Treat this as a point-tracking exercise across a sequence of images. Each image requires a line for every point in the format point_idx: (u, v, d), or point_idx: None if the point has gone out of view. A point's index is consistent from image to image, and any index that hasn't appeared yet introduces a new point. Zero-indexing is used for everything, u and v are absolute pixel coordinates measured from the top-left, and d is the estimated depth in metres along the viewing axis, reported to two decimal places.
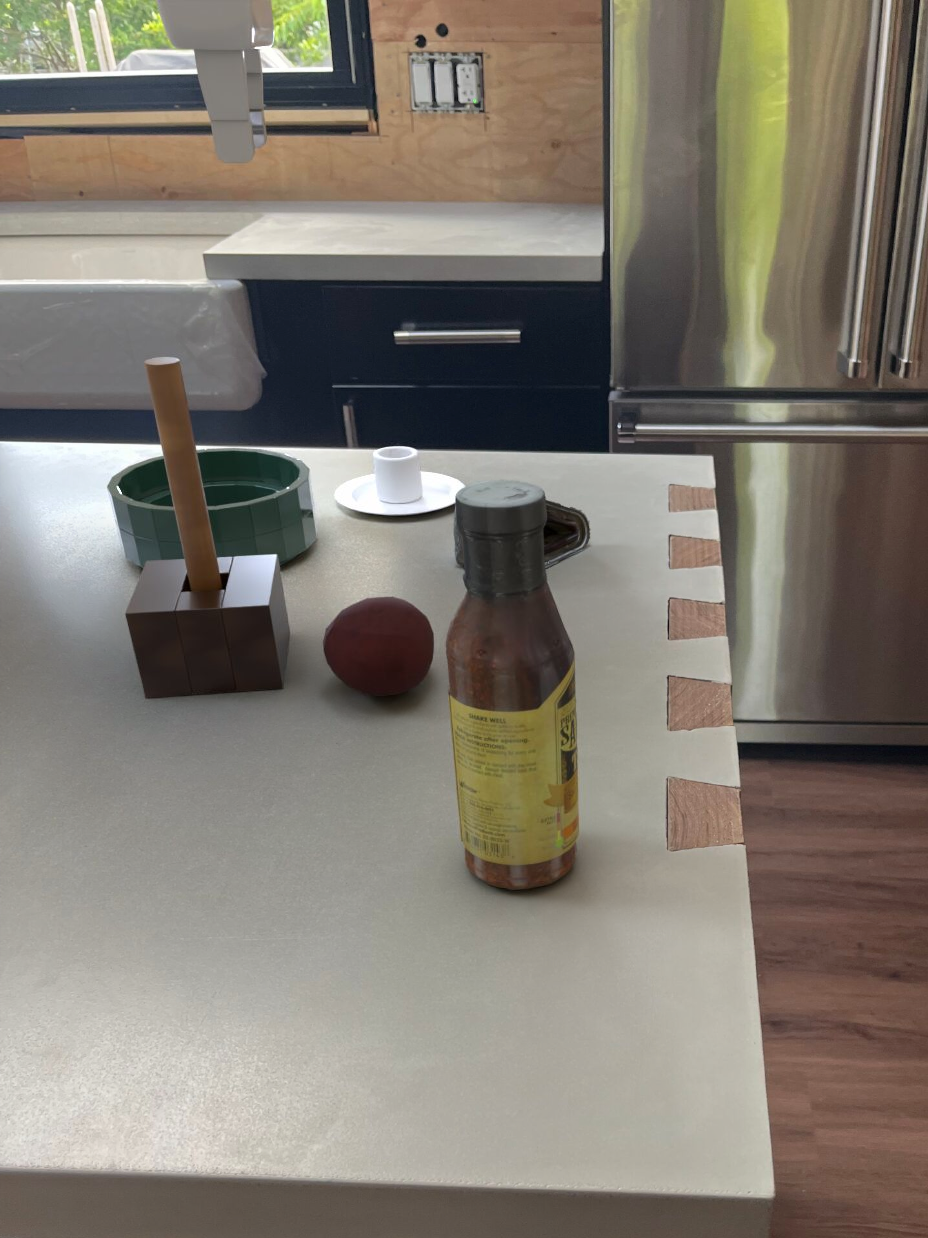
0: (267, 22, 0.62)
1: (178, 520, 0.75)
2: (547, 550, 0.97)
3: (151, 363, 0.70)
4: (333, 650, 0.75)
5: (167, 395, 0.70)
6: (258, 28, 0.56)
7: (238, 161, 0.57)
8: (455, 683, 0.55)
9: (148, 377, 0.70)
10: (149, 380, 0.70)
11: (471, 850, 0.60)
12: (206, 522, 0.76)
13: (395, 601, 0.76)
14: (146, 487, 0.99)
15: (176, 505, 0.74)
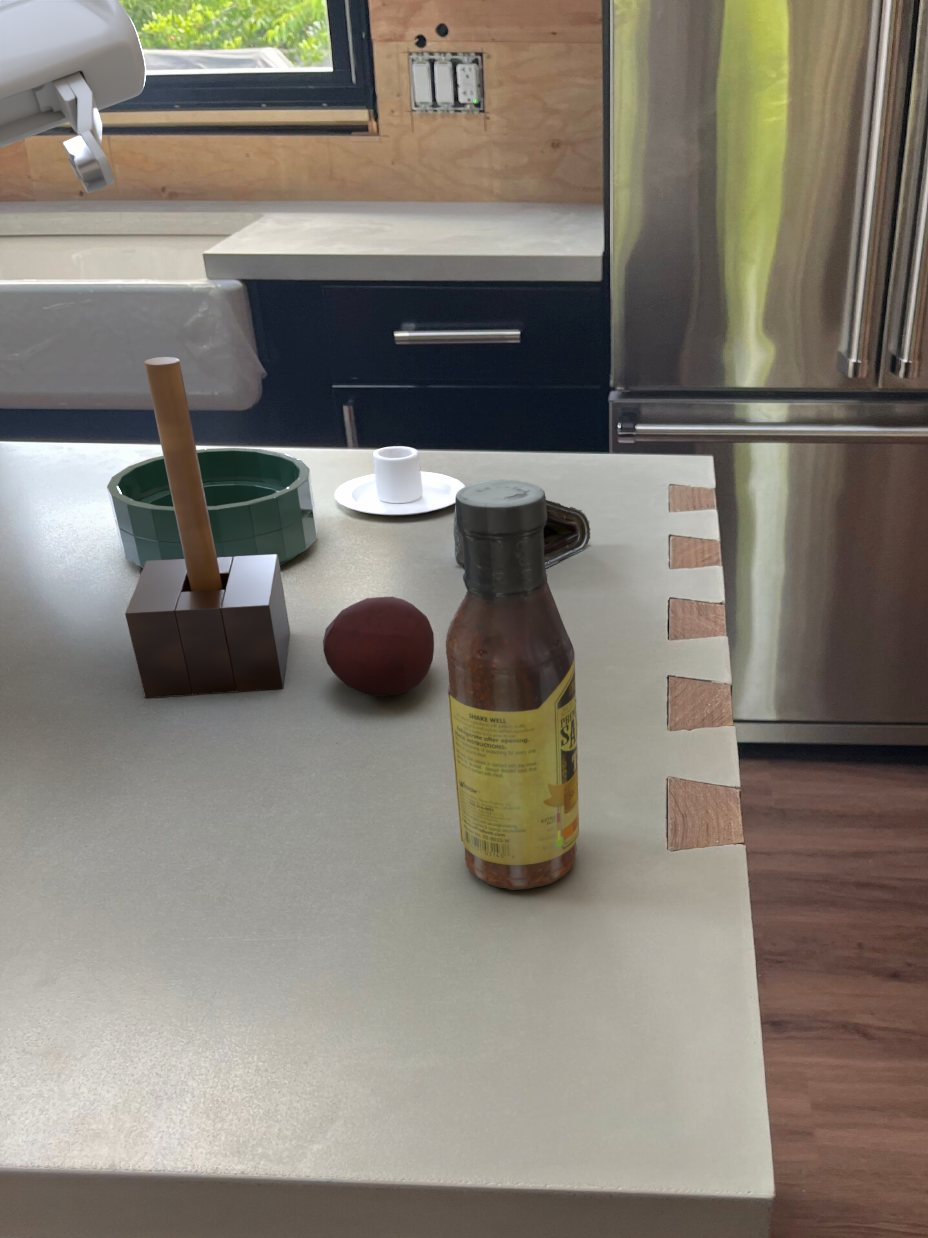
0: None
1: (178, 520, 0.75)
2: (547, 550, 0.97)
3: (151, 363, 0.70)
4: (333, 650, 0.75)
5: (167, 395, 0.70)
6: None
7: (112, 174, 0.58)
8: (455, 683, 0.55)
9: (148, 377, 0.70)
10: (149, 380, 0.70)
11: (471, 850, 0.60)
12: (206, 522, 0.76)
13: (395, 601, 0.76)
14: (146, 487, 0.99)
15: (176, 505, 0.74)
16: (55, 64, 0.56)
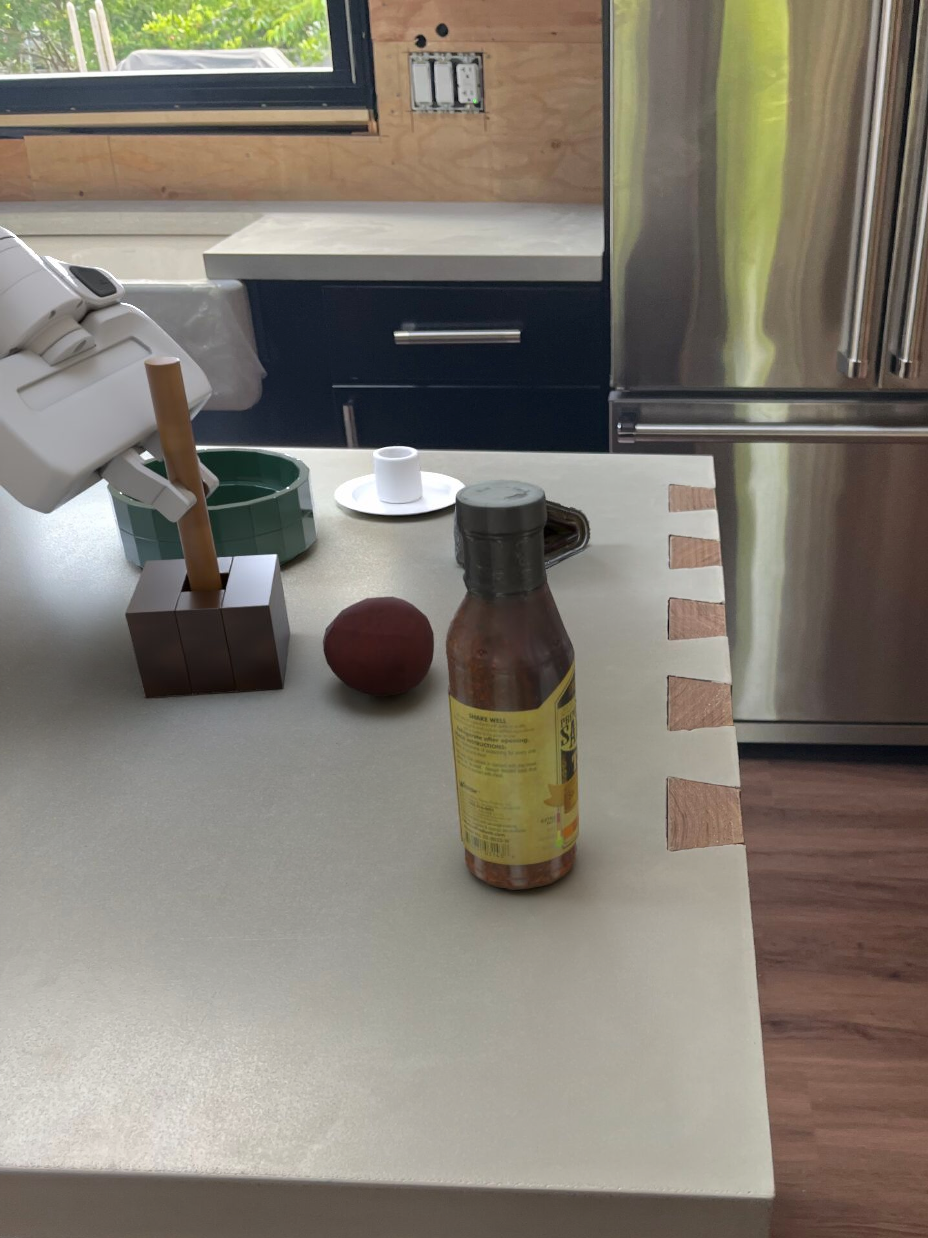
0: None
1: None
2: (547, 550, 0.97)
3: (151, 363, 0.70)
4: (333, 650, 0.75)
5: (167, 395, 0.70)
6: None
7: (212, 491, 0.77)
8: (455, 683, 0.55)
9: (148, 377, 0.70)
10: (149, 380, 0.70)
11: (471, 850, 0.60)
12: (206, 522, 0.75)
13: (395, 601, 0.76)
14: None
15: None
16: (188, 402, 0.77)
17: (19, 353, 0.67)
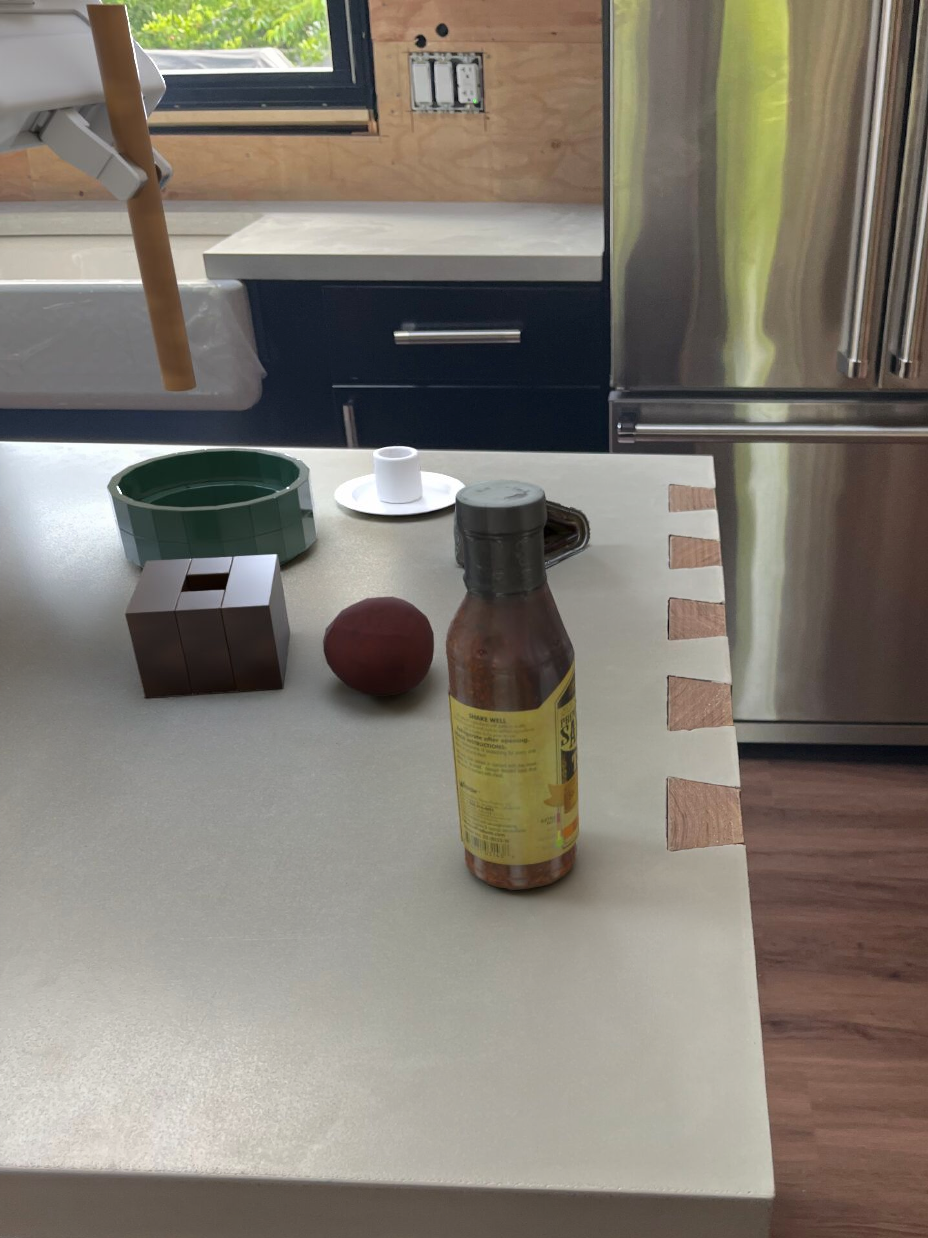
0: None
1: (128, 204, 0.68)
2: (547, 550, 0.97)
3: (93, 4, 0.63)
4: (333, 650, 0.75)
5: (112, 44, 0.64)
6: None
7: (166, 183, 0.71)
8: (455, 683, 0.55)
9: (91, 22, 0.64)
10: (92, 25, 0.64)
11: (471, 850, 0.60)
12: (159, 208, 0.69)
13: (395, 601, 0.76)
14: (146, 487, 0.99)
15: None
16: None
17: None
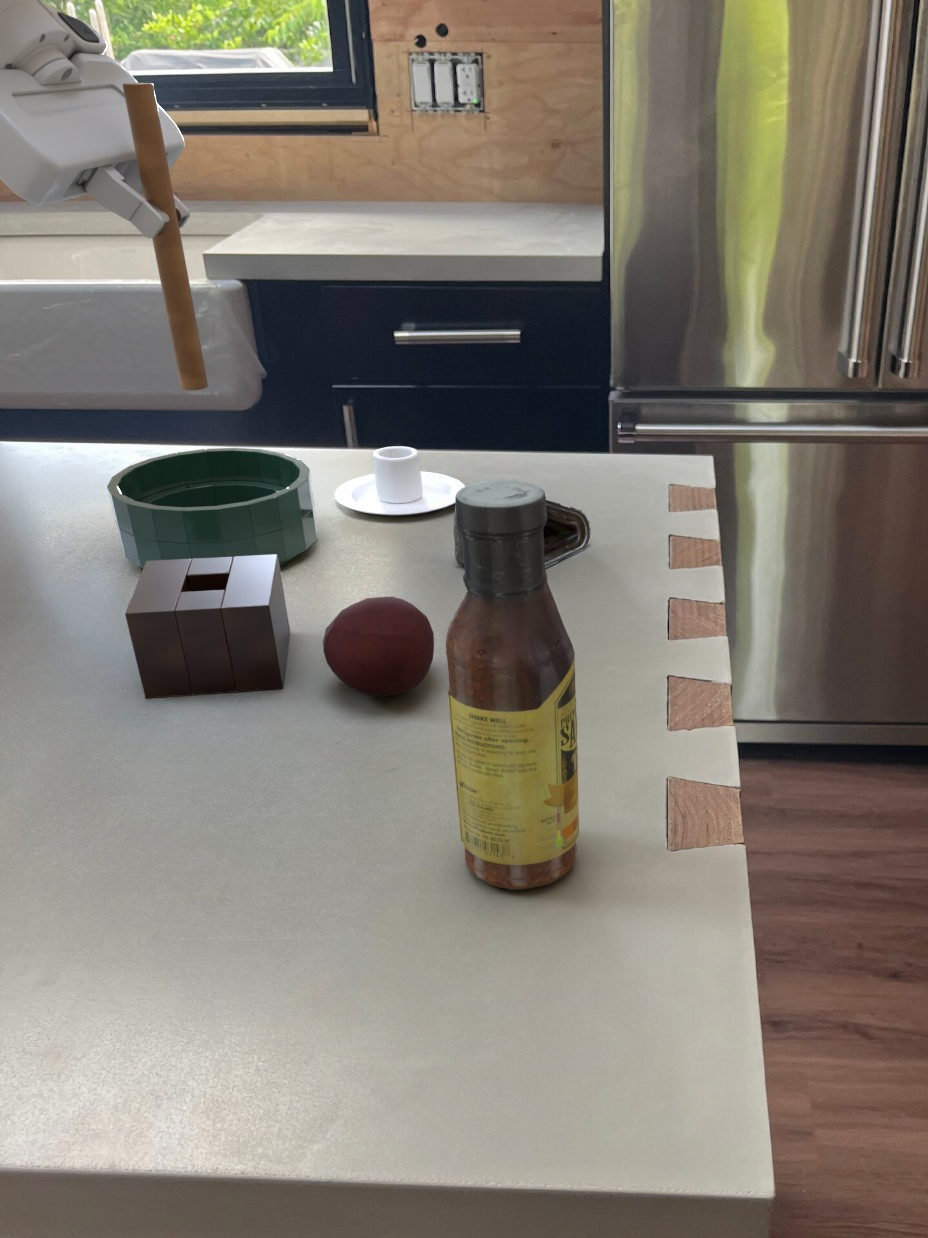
0: None
1: (154, 239, 0.85)
2: (547, 550, 0.97)
3: (128, 83, 0.80)
4: (333, 650, 0.75)
5: (142, 114, 0.81)
6: None
7: (184, 222, 0.87)
8: (455, 683, 0.55)
9: (126, 97, 0.80)
10: (127, 100, 0.80)
11: (471, 850, 0.60)
12: (178, 242, 0.86)
13: (395, 601, 0.76)
14: (146, 487, 0.99)
15: None
16: None
17: (13, 69, 0.78)
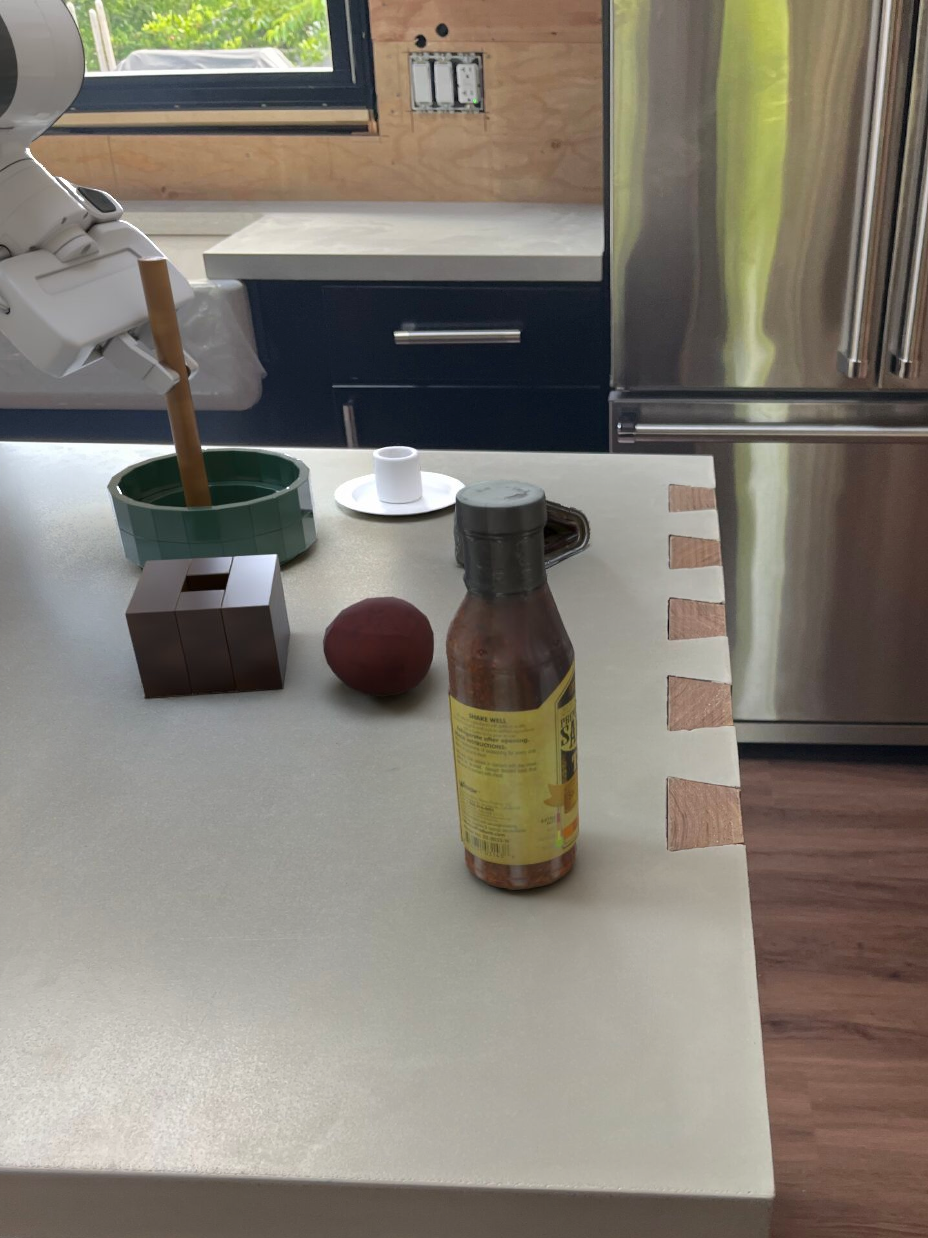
0: None
1: (165, 394, 0.92)
2: (547, 550, 0.97)
3: (142, 260, 0.86)
4: (333, 650, 0.75)
5: (155, 286, 0.87)
6: None
7: (193, 375, 0.94)
8: (455, 683, 0.55)
9: (140, 271, 0.87)
10: (141, 274, 0.87)
11: (471, 850, 0.60)
12: (188, 396, 0.92)
13: (395, 601, 0.76)
14: (146, 487, 0.99)
15: None
16: (174, 302, 0.94)
17: (37, 250, 0.84)
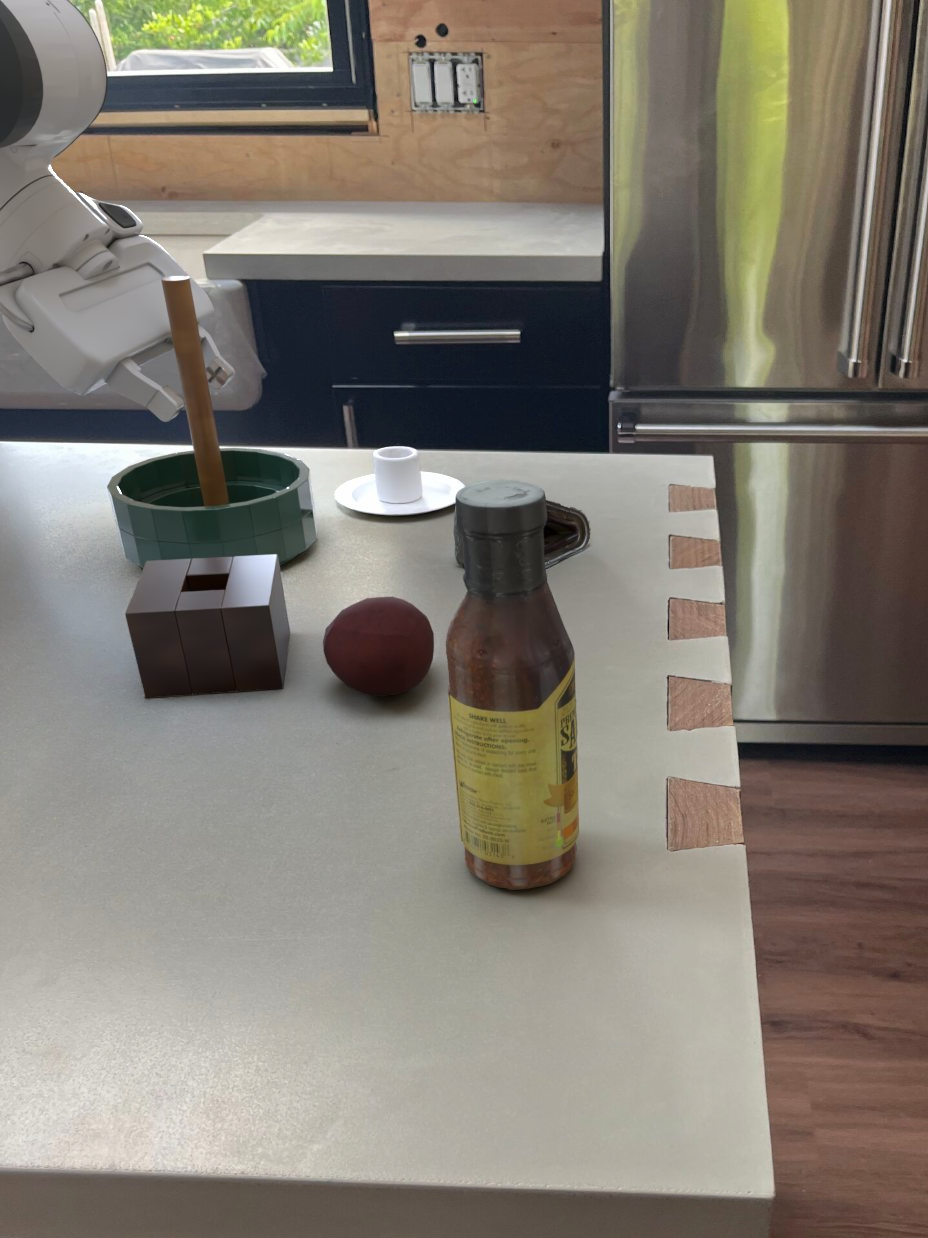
0: None
1: (188, 412, 0.92)
2: (547, 550, 0.97)
3: (166, 279, 0.87)
4: (333, 650, 0.75)
5: (179, 306, 0.88)
6: None
7: (229, 380, 0.96)
8: (455, 683, 0.55)
9: (164, 291, 0.87)
10: (165, 293, 0.87)
11: (471, 850, 0.60)
12: (210, 414, 0.93)
13: (395, 601, 0.76)
14: (146, 487, 0.99)
15: (186, 398, 0.92)
16: None
17: (60, 268, 0.84)
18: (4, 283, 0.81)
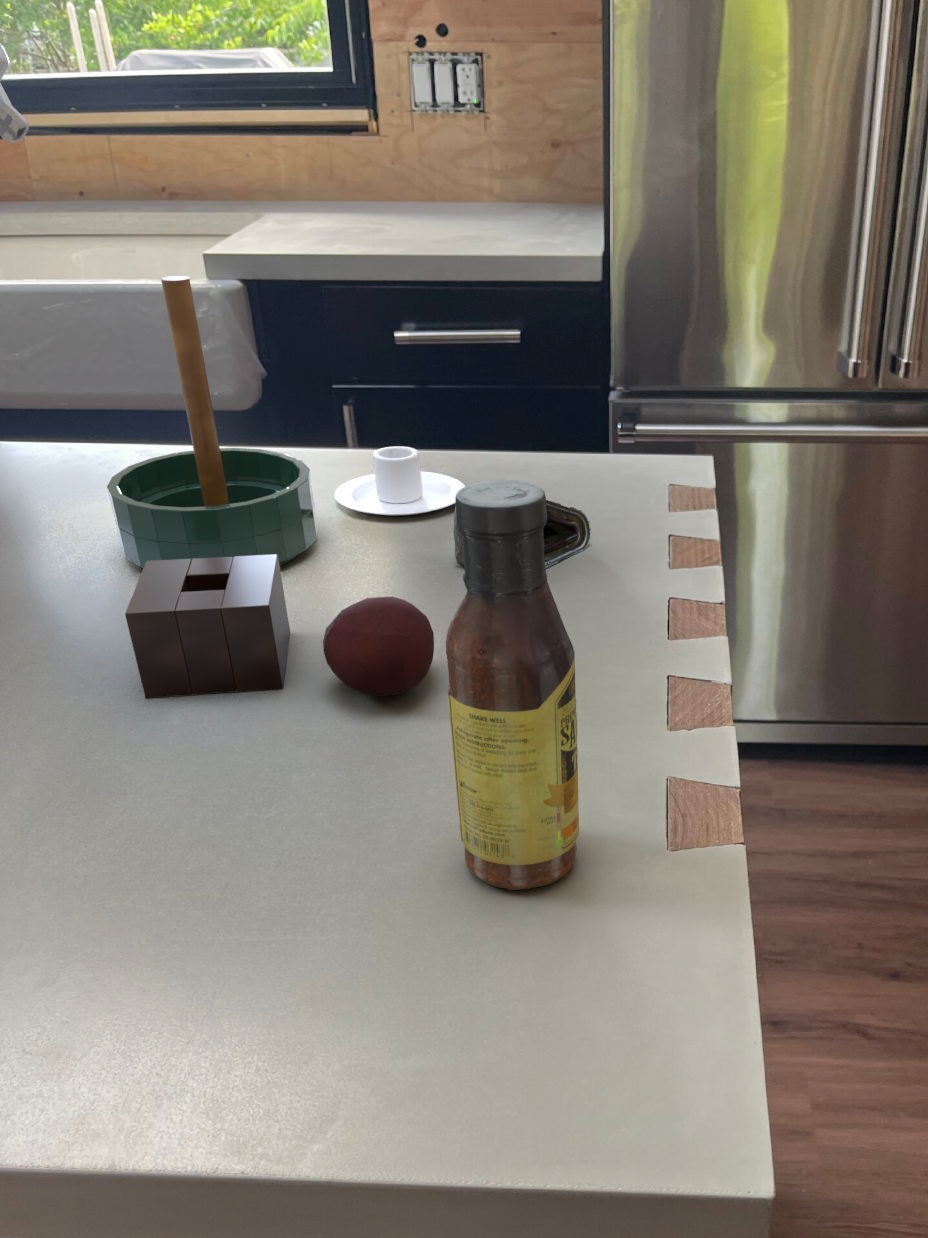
0: None
1: (188, 412, 0.92)
2: (547, 550, 0.97)
3: (166, 279, 0.87)
4: (333, 650, 0.75)
5: (179, 306, 0.88)
6: None
7: (24, 135, 0.88)
8: (455, 683, 0.55)
9: (164, 291, 0.87)
10: (165, 293, 0.87)
11: (471, 850, 0.60)
12: (210, 414, 0.93)
13: (395, 601, 0.76)
14: (146, 487, 0.99)
15: (186, 398, 0.92)
16: None
17: None
18: None
